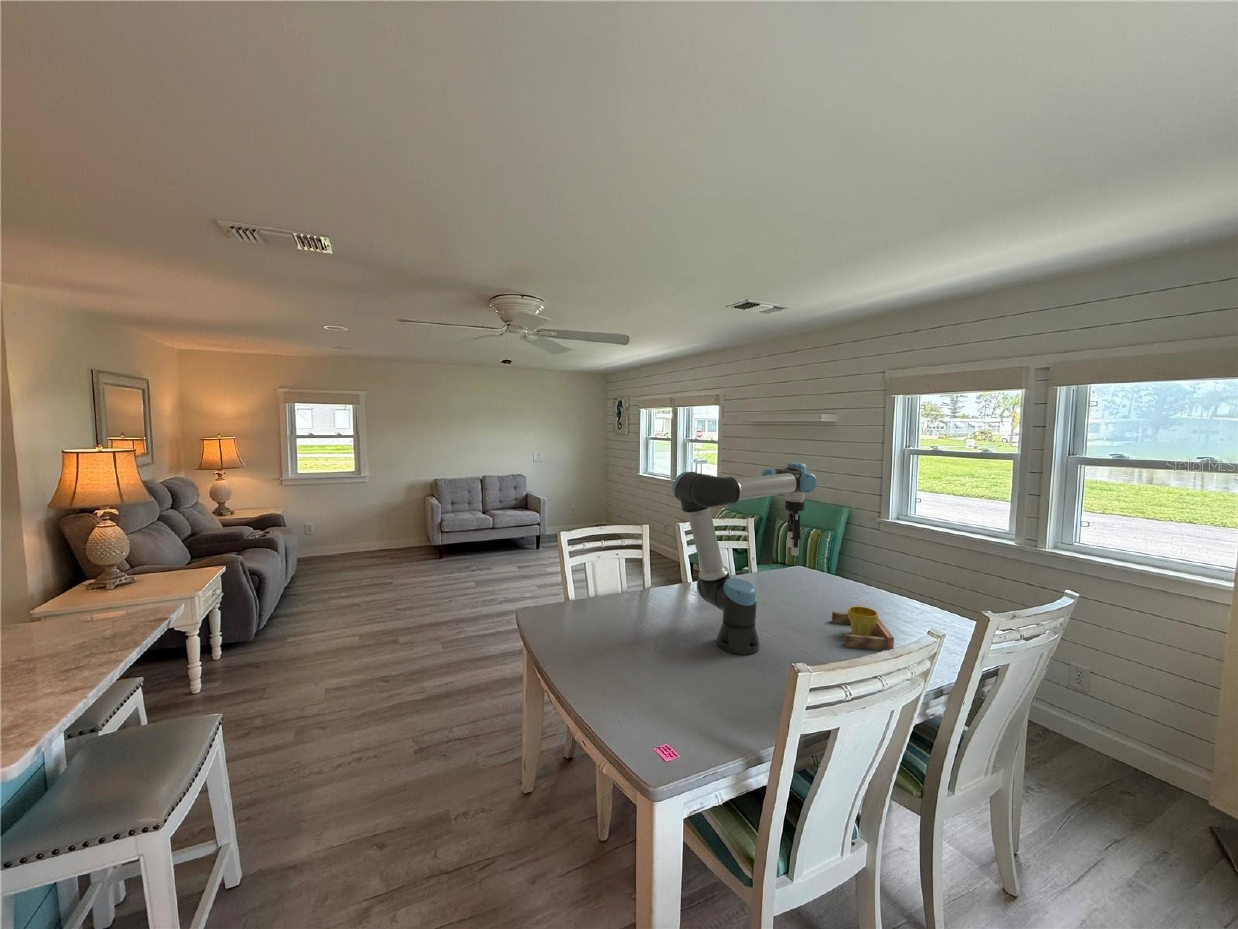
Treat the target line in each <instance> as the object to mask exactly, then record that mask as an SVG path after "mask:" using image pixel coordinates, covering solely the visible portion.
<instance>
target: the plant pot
mask: <svg viewBox="0 0 1238 929" xmlns="http://www.w3.org/2000/svg"><path fill="white" fill-rule="evenodd" d="M847 613H848V618H849V619H850V623H851V624H850V628H851V634H854V635H864V636H873V633H874V632H873V630H874V627H875V624H876V623H877V622H878V618H879V613H878V612H877V611H876V610H875V609H873V608H870V607H865V606H861V605H860V606H859V605H858V606H857V605H856V606H853V605H852V606H850V607H849V608H848V610H847Z"/></svg>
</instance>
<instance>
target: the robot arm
mask: <svg viewBox="0 0 1238 929" xmlns="http://www.w3.org/2000/svg"><path fill="white" fill-rule="evenodd" d="M817 485H818V480H817V477H816V475H814V474H813V473H811V472H807V465H806V464H805V463H804V462H803V463H802V462H788V463H787V464H786V467H784V468H773V467H772V468H767V469H764V470H763V471H762V474H761V475H760V476H751V477H745V478H744V477H743V478H735V477H733V476H728V477H727V476H726V477H725V476H724V477H722V476H715V475H711V474H703V473H699V472H696V471H684V472H682V473H680V474H678V475H677V477H676V478H675V479H674V481H673V483H672V488H671V489H672V494H673V496H674V497H675V499H677V500H678V501H679V502H680V506H681V510H682V512H683V513H684V514H686V515H687V517H688V520H689V524H690V525H689V526H690V529H691V534H692V537H693V542H694V545H695V549H696V553H697V558H698V562H699V565H700V571H699V572H698V580H697V581H696V590H697V593H698V595H699V596H700V597H701V598H702V599H703V600H704V601H705V602H706V603H709V604H711V606H713V607H715V608H718V609H719V610H720V611H722V624H721V626H720V629H719V631H718V634H717V637H716V644H717V647H718V648H719V649H721V650H722V651H724V652H727V653H730V654H732V655H733V654H734V655H740V656H741V655H743V656H746V655H747V656H748V655H753V654H756V653H757V652H759V650H760V639H759V635H758V632H757V628H756V619H757V617H756V615H757V600H758V595H757V589H756V587H755V585H754V584H753V583H752V582H750V581H748V580H745V579H741V578H735V577H734V578H731V575H730V572H729V569H728V566H725V565H724V563H723V562H724V561H723V560H722V559H723V558H722V555H721V550H720V546H719V541H718V538H717V534H716V529H715V525H714V521H713V516H712V513H711V509H712V508H715V507H723V506H728V505H735V504H737V503H739V501H743V500H751V499H757V498H764V497H771V496H779V495H785V497H784V498H785V501H784V502H785V503H784V508H785V510H787V511H788V518H787V525H786V529H787V537H786V539H787V541H786V547H787V548H791V552H790V553H791V554H790V555H791V556H799V553H800V552H799V551H800V540H801V515H800V514H799V512H802V511H804V510H805V505H806V504H805V499H806V495H807V494H809V493H812V492H813V493H814V491H815V490H816V488H817Z"/></svg>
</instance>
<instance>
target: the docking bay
mask: <svg viewBox="0 0 1238 929" xmlns="http://www.w3.org/2000/svg"><path fill="white" fill-rule="evenodd" d="M831 622H832V624H842V625H851V623H850V619H849V618H848V612H844V611H843V612H842V611H841V612H840V611H832V612H831ZM887 628H888V627H886V626H885V625H884V623H883V622H882V621H881V619H879V617H878V622H877V623H876V624H875V627H874V630H873V633H874V634H875V635H876V636H875V635H874V636H873V635H872V636H864V635H854V634H852V633H844V646H845V647H849V648H856V649H857V648H858V649H860V648H861V649H866V650H867V649H869V650H878V649H880V650H879V651H886V650H890V649H893V650H894V644H895V643H894V642H895V637H894V636H893V634H891V632H890V631H889V630H888V629H887Z"/></svg>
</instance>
